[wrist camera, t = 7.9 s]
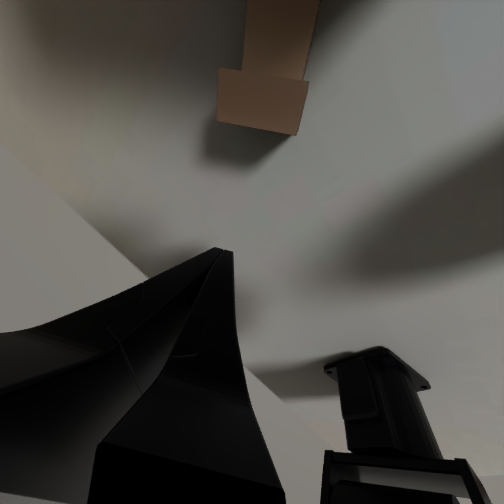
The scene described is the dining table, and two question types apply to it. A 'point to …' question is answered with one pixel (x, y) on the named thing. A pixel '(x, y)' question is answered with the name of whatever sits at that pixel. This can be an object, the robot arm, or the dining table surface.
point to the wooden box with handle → (270, 67)
